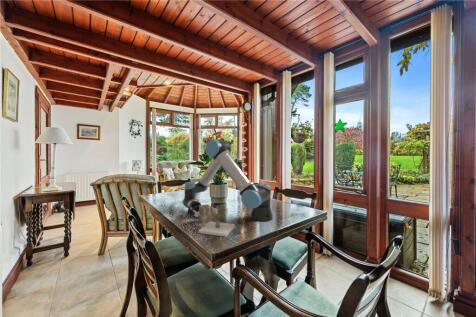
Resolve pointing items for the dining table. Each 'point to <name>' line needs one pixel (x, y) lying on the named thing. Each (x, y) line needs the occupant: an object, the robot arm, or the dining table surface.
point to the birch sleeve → (205, 213)
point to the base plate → (217, 228)
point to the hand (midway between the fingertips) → (207, 213)
